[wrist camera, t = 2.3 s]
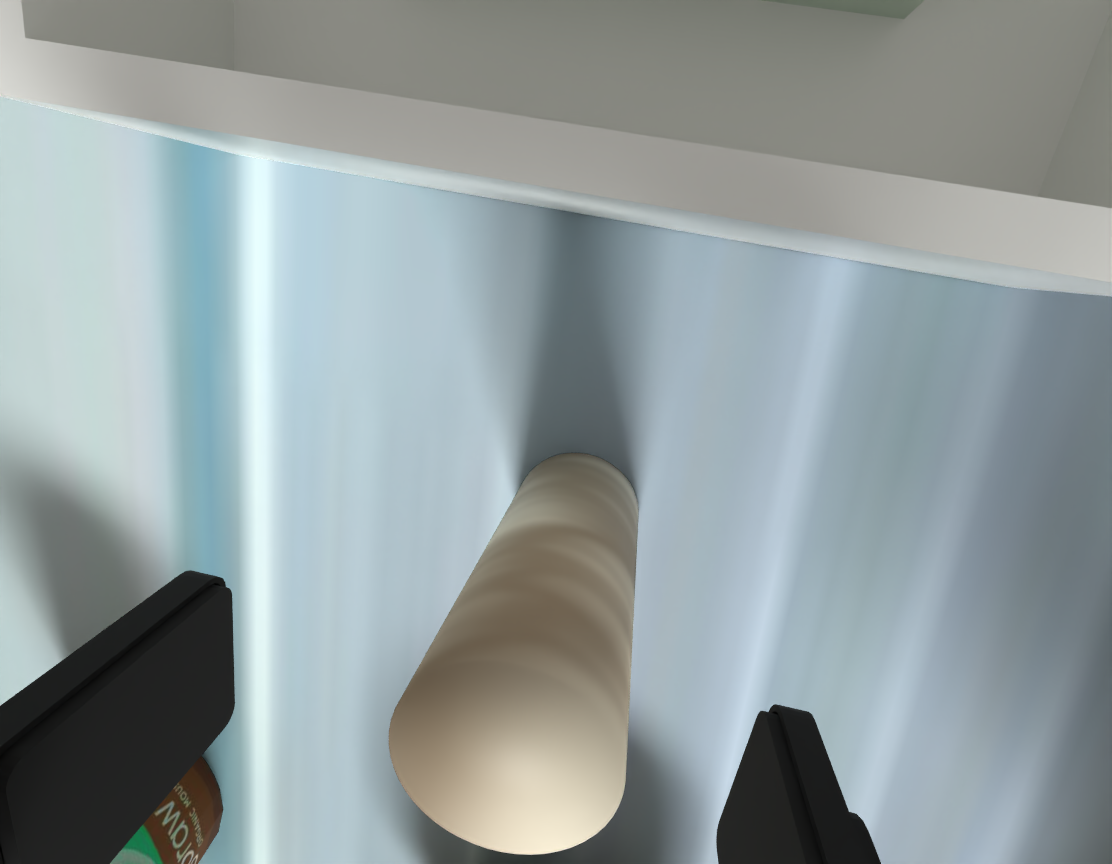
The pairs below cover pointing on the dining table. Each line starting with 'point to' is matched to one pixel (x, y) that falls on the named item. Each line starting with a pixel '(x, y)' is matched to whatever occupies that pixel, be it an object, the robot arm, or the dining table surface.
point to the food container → (179, 823)
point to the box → (644, 111)
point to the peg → (531, 671)
